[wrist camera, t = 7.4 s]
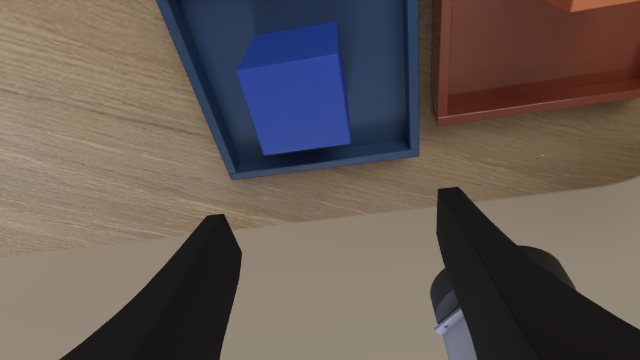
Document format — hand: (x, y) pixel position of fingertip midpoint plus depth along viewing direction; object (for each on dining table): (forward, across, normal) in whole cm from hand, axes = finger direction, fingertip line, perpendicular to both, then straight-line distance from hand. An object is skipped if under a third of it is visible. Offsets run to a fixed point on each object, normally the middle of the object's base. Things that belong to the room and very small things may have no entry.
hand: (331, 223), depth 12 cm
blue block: (+9, +1, -2) cm, 9 cm away
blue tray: (+10, +1, -2) cm, 10 cm away
